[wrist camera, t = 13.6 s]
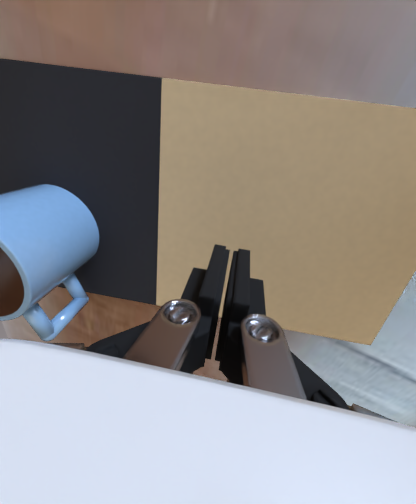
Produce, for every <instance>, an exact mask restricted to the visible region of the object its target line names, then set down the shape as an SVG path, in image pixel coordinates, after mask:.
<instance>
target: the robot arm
mask: <svg viewBox="0 0 416 504" xmlns="http://www.w3.org/2000/svg"><path fill="white" fill-rule="evenodd" d="M229 253H230V250H228V249H226V246H222V245H217V244H215V245H214V249H213V252H212V255H211V258H210V261H209V265H208V268H207V270H206V269H201V268H195V267H194V268H193V269H192V272H191V274H190V277H189V279H188V281H187V284H186V286H185V289H184V291H183V293H182V296H181V298H180V299H174V300H170V301H168V302H166V303H165V304H164V305H163V306H162V307H161V308H160V309H159V311H158V312H157V313H156V315H155V316H154V317H153V318H152V320H151V321H150V322H147V323H144V324H142V325H139V326H136V327H134V328H131V329H129V330H126V331H123V332H121V333H118V334H115V335H113V336H110V337H108V338H105V339H102V340H100V341H98V342H96V343H94V344H92V345H91V346H89V347H84V343H41V342H35V341H29V340H18V339H0V504H416V427H412V426H408V425H405V424H402V423H398V422H396V421H394V420H391V419H389V418H386V417H384V416H382V415H379V414H377V413H375V412H372V411H370V410H368V409H365V408H363V407H361V406H358V405H356V404H354V403H353V405H352V406H349V405H347V404H346V402H345V401H344V400H343V399H342V398H341V396H340V395H339V394H338V393H337V392H336V391H334V390H333V389H332V388H331V387H330V386H329V385H328V384H327V383H325V382H324V381H323V380H322V379H321V378H320V377H319V376H318V375H316V374H315V373H314V372H313V371H312V370H311V369H310V368H309V367H307V366H306V365H305V364H304V363H303V362H302V361H301V360H300V359H298V358H297V357H296V356H295V355H294V354H293V353H292V352H291V351H290V349H289V346H288V343H287V340H286V338H285V335H284V332H283V330H282V328H281V326H280V325H279V324H278V323H277V322H276V321H275V320H273V319H272V318H270V317H268V316H266V309H265V297H264V284H263V280H260V279H255V278H250V250H245V249H238V251H234V252H233V257H232V262H231V267H230V273H229V278H228V283H227V289H226V294H225V299H224V305H223V312H222V318H221V325H220V331H219V337H218V344H217V350H216V357H215V360H216V361H220V366H219V370H220V371H222V372H223V374H224V375H225V376H226V377H227V382H225V381H220V380H216V379H211V378H207V377H203V376H198V375H194V374H193V371H195V370H197V369H199V368H200V367H204V363H205V358H207V359H211V355H212V349H213V344H214V338H215V333H216V327H217V321H218V316H219V310H220V305H221V299H222V294H223V288H224V282H225V276H226V270H227V265H228V259H229Z"/></svg>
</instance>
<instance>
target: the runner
mask: <svg viewBox="0 0 416 504" xmlns="http://www.w3.org/2000/svg"><path fill="white" fill-rule="evenodd" d="M40 184H49V185H54V186H58V187H61V188H63V189H65V190H67V191H69V192H71V193H72V194H74V195H75V196H76V197H78V198H79V199H80V200H81V201H82V202H83V203H84V204H85V205H86V206H87V208H88V209H89V210H90V212H91V213H92V215H93V217H94V219H95V221H96V223H97V226H98V230H99V246H98V249H97V252H96V254H95V255H94V256H93V258H92V259H91V260H89V261H88V262H87V263H86V264H84V265H83V266H82V267H81V268H79V269H78V270H77V271H76V272H75V273H74V274H75V276H76V277H77V279H78V281H79V282H80V284H81V286H82V287H83V289H84V290H85V292H89V293H95V294H100V295H105V296H111V297H116V298H121V299H127V300H132V301H137V302H143V303H148V304H153V305H158V306H163V305H164V304H165V303H166V302H168V301H170V300H174V299H180V298H181V296H182V293H183V291H184V289H185V286H186V284H187V281H188V279H189V277H190V274H191V272H192V269H193V268H194V267H195V268H201V269H206V270H207V268H208V265H209V261H210V258H211V255H212V252H213V249H214V245H215V244H217V245H222V246H226V249H228V250H230V253H229V259H228V265H227V270H226V276H225V282H224V288H223V294H222V299H221V305H220V310H219V316H218V317H222V312H223V305H224V299H225V294H226V289H227V283H228V278H229V273H230V267H231V262H232V257H233V252H234V251H238V249H245V250H250V278H255V279H260V280H263V284H264V297H265V309H266V316H268V317H270V318H272V319H273V320H275V321H276V322H277V323H278V324H279V325H280V326H281V328H282V329H286V330H291V331H297V332H302V333H307V334H313V335H318V336H323V337H329V338H334V339H339V340H344V341H350V342H355V343H360V344H366V345H371V344H372V342H373V340H374V339H375V337H376V335H377V334H378V332H379V330H380V329H381V327H382V326H383V324H384V322H385V321H386V319H387V317H388V316H389V314H390V312H391V311H392V309H393V307H394V306H395V304H396V302H397V301H398V299H399V297H400V296H401V294H402V292H403V291H404V289H405V287H406V286H407V284H408V282H409V281H410V279H411V277H412V276H413V274H414V272H415V271H416V108H409V107H400V106H392V105H384V104H375V103H367V102H358V101H350V100H342V99H333V98H325V97H317V96H308V95H300V94H292V93H283V92H275V91H266V90H258V89H250V88H241V87H233V86H225V85H216V84H208V83H200V82H191V81H183V80H175V79H166V78H158V77H149V76H141V75H133V74H124V73H116V72H108V71H99V70H91V69H83V68H74V67H66V66H57V65H49V64H41V63H32V62H24V61H16V60H7V59H0V194H2V193H6V192H10V191H14V190H19V189H23V188H27V187H31V186H35V185H40ZM57 287H63V288H66V287H65V286H64V284H63V282H62V283H61V284H60V285H59V286H57Z"/></svg>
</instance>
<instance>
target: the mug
mask: <svg viewBox="0 0 416 504" xmlns="http://www.w3.org/2000/svg"><path fill="white" fill-rule="evenodd" d="M98 246H99V230H98V226H97V223H96V221H95V219H94V217H93V215H92V213H91V212H90V210H89V209H88V208H87V206H86V205H85V204H84V203H83V202H82V201H81V200H80V199H79V198H78V197H76V196H75V195H74V194H72V193H71V192H69V191H67V190H65V189H63V188H61V187H58V186H54V185H49V184H40V185H35V186H31V187H27V188H23V189H19V190H14V191H10V192H6V193H2V194H0V321H5V320H11V319H15V318H17V317H20V316H21V315H23V316H24V318H25V319H26V320H27V322H28V323H29V324H30V326H31V327H32V328H33V329H34V331H35V332H36V333H37V335H38V336H39V337H40V339H41V340H43V341H51V340H53V339H54V338H55V337H56V336H57V335H58V334H59V333H60V332H61V330H62V329H63V328H64V327H65V326H66V325H67V324H68V323H69V322H70V321H71V320H72V319H73V318H74V317H75V316H76V314H77V313H78V312H79V311H80V310H81V309H82V308H83V307H84V306H85V305H86V304H87V303H88V300H89V298H88V295H87V294H86V292H85V290H84V289H83V287H82V286H81V284H80V282H79V281H78V279H77V277H76V276H75V274H74V273H75V272H76V271H77V270H78V269H79V268H81V267H82V266H83V265H84V264H86V263H87V262H88V261H89V260H91V259H92V258H93V256H94V255H95V254H96V252H97V249H98ZM62 282H63V284H64V286H65V287H66V289H67V290H68V292H69V293H70V295H71V296H72V298H73V300H72V301H71V302H70V303H69V304H68V305H66V306H65V307H64V308H63V309H62V310H61V311H60V312H59V313H58V314H57V315H56V316H55V317H54V318H53V319H52V320H51V321H50V319H49V318H48V317H47V315H46V314H45V313H44V311H43V310H42V308H41V307H40V306H39V304H38V302H39V301H40V300H41V299H42V298H44V297H45V296H46V295H47V294H49V293H50V292H51V291H52V290H54V289H55V288H56V287H57V286H59V285H60V284H61V283H62Z"/></svg>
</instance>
